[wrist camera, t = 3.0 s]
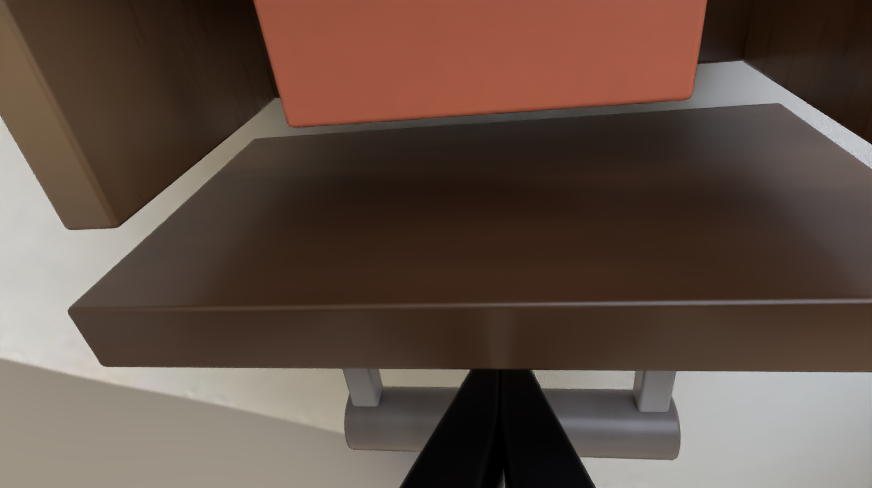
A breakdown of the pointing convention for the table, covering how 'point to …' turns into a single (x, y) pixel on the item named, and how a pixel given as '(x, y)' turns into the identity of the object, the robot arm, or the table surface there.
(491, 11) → the orange-red cube
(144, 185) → the drawer
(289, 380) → the table surface
